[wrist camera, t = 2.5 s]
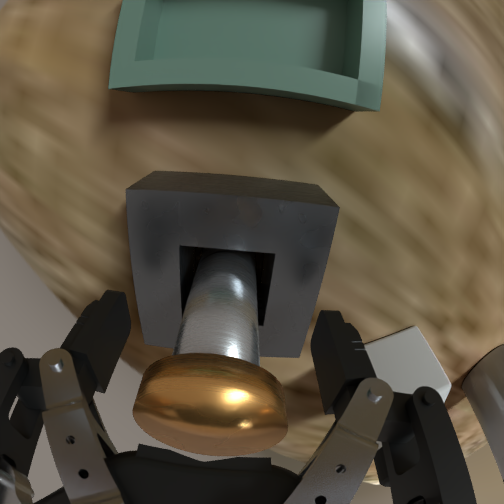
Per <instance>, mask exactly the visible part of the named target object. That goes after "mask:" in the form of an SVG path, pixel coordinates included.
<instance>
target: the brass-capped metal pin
mask: <svg viewBox="0 0 504 504" xmlns="http://www.w3.org/2000/svg"><path fill="white" fill-rule="evenodd" d="M133 417H134V419H135V421H136V423H137V424H138V425H139V426H140V428H141V429H143V430H144V431H145V432H146V433H148V434H149V435H150V436H152V437H153V438H155V439H156V440H158V441H160V442H162V443H165V444H167V445H169V446H172V447H174V448H177V449H180V450H184V451H188V452H192V453H196V454H202V455H210V456H239V455H246V454H251V453H256V452H260V451H263V450H265V449H268V448H271V447H272V446H274V445H276V444H277V443H279V442H280V441H281V440H282V439H283V438H284V437H285V436H286V434H287V431H288V424H287V414H286V405H285V396H284V390H283V387H282V385H281V383H280V382H279V381H278V380H277V378H276V377H275V376H273V375H272V374H271V373H270V372H268V371H267V370H265V369H263V368H262V367H260V357H259V333H258V310H257V287H256V264H255V252H252V251H240V250H229V249H217V248H206V247H204V248H203V251H202V254H201V258H200V261H199V264H198V267H197V270H196V274H195V277H194V280H193V283H192V287H191V290H190V293H189V297H188V300H187V304H186V307H185V311H184V314H183V318H182V321H181V325H180V328H179V332H178V335H177V339H176V343H175V346H174V350H173V354H172V356H168V357H165V358H162V359H160V360H158V361H156V362H154V363H153V364H151V365H150V366H149V367H148V368H147V369H146V371H145V373H144V374H143V377H142V381H141V384H140V388H139V390H138V394H137V397H136V400H135V404H134V407H133Z"/></svg>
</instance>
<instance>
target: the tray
mask: <svg viewBox="0 0 504 504" xmlns="http://www.w3.org/2000/svg"><path fill="white" fill-rule="evenodd" d="M386 17H387V4H386V0H123V3H122V7H121V11H120V15H119V20H118V25H117V30H116V35H115V41H114V47H113V54H112V61H111V68H110V77H109V87H108V89H113V90H120V91H127V92H133V93H134V92H149V91H180V90H193V91H224V92H239V93H251V94H261V95H269V96H277V97H285V98H291V99H298V100H304V101H309V102H315V103H320V104H325V105H330V106H335V107H339V108H343V109H348V110H352V111H380V104H381V95H382V86H383V76H384V64H385V48H386Z"/></svg>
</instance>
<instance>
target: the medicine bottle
mask: <svg viewBox="0 0 504 504" xmlns="http://www.w3.org/2000/svg"><path fill="white" fill-rule="evenodd" d="M364 346H365V350H366V351H367V354H368V356H369V358H370V361H371V363H372V366H373V368H374V371H375V373H376V376H377V378H379V379H381V380H383V381H385V382H386V383H388V384H389V386H390V387H391V388H392V390H393V391H395V392H400V393H407V394H413V393H414V391H415V390H416V389H417V388H419V387H422V386H428V387H431V388H433V389H435V390H436V391H437V392H438V393H439V394H440V395H441V397H442V400H443V402H445V400H446V398H447V396H448V393H449V391H450V389H451V383H450V381H449V379H448V377H447V375H446V374H445V372H444V370H443V368H442V366H441V365H440V363H439V361H438V360H437V358H436V356H435V354H434V353H433V351H432V349H431V348H430V346H429V344H428V343H427V341H426V340H425V338H424V336H423V335H422V333H421V332H420V330H419V328H418V327H417V326H412V327H410V328H408V329H405V330H403V331H400V332H397V333H395V334H392V335H390V336H387V337H384V338H381V339H379V340H376V341H373V342H370V343H367V344H364ZM376 443H378V444H379V446H378V450H377V452H376V455H375V457H374V462H375V466H376V470H377V474H378V478H379V482H380V484H381V485H383V486H385V487H390V482H389V476H388V471H387V466H386V461H385V456H384V452H383V447H382V443H381V442H380V441H376Z"/></svg>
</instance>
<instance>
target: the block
mask: <svg viewBox="0 0 504 504" xmlns="http://www.w3.org/2000/svg"><path fill="white" fill-rule="evenodd" d="M126 208H127V223H128V235H129V246H130V256H131V264H132V272H133V280H134V287H135V293H136V300H137V306H138V312H139V317H140V323H141V328H142V333H143V338H144V343H145V344H147V345H153V346H160V347H167V348H174V346H175V343H176V339H177V335H178V332H179V328H180V325H181V321H182V318H183V314H184V311H185V307H186V304H187V300H188V297H189V293H190V290H191V287H192V283H193V280H194V247H206V248H217V249H229V250H240V251H252V252H263V253H265V256H264V263H263V270H262V277H261V283H256V287H257V310H258V333H259V356H261V357H290V358H299V356H300V353H301V350H302V347H303V344H304V341H305V338H306V335H307V331H308V328H309V325H310V322H311V318H312V315H313V311H314V308H315V305H316V301H317V298H318V294H319V290H320V287H321V283H322V279H323V276H324V272H325V268H326V264H327V260H328V256H329V252H330V248H331V244H332V240H333V235H334V231H335V227H336V222H337V218H338V213H339V208H340V207H339V206H338V205H337V204H336V203H335V202H334V201H333V200H332V199H331V198H330V197H329V196H328V195H327V194H326V193H325V192H324V191H323V190H322V189H321V188H320V187H319V186H318V185H315V184H308V183H301V182H293V181H285V180H276V179H267V178H258V177H247V176H236V175H224V174H210V173H193V172H172V171H154V172H152V173H150V174H149V175H147V176H146V177H144V178H142V179H141V180H139V181H138V182H136V183H135V184H133V185H132V186H130V187H129V188H127V189H126Z"/></svg>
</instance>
